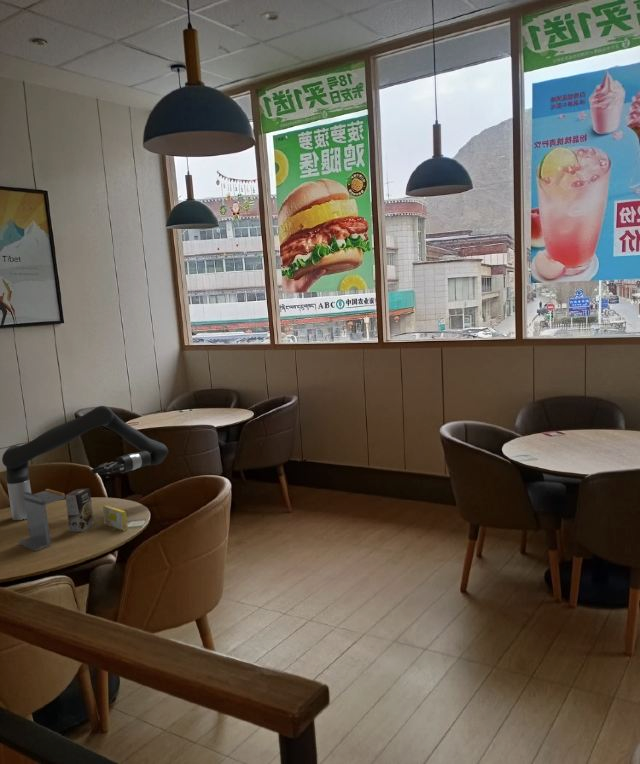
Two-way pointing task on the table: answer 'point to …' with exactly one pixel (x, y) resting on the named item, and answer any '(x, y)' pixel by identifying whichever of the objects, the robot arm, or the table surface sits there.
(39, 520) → the grey metal stand
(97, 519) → the table surface
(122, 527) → the candy box
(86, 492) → the coffee box
